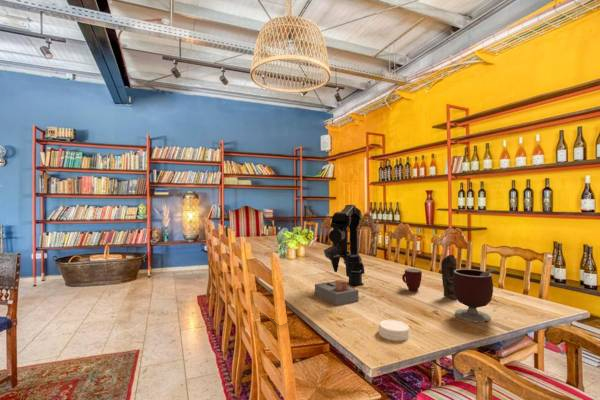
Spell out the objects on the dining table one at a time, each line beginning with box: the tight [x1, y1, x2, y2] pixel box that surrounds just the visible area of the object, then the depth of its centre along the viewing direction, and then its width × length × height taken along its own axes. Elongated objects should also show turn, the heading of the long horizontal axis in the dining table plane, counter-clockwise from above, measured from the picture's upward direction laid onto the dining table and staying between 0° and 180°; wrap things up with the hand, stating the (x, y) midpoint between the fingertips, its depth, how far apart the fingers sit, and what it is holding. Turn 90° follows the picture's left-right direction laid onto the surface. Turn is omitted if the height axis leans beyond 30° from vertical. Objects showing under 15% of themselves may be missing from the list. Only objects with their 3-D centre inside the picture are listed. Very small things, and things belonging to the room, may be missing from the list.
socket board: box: [314, 280, 359, 307], centre depth 145 cm, size 12×18×5 cm, turn 29°
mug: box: [401, 268, 423, 292], centre depth 158 cm, size 11×8×10 cm
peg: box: [335, 278, 349, 292], centre depth 141 cm, size 4×4×9 cm
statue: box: [440, 254, 457, 300], centre depth 145 cm, size 7×7×20 cm
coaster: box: [378, 319, 410, 342], centre depth 105 cm, size 10×10×4 cm
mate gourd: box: [453, 268, 496, 323], centre depth 121 cm, size 16×14×20 cm
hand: (341, 274), depth 141 cm, fingers open, 9 cm apart
